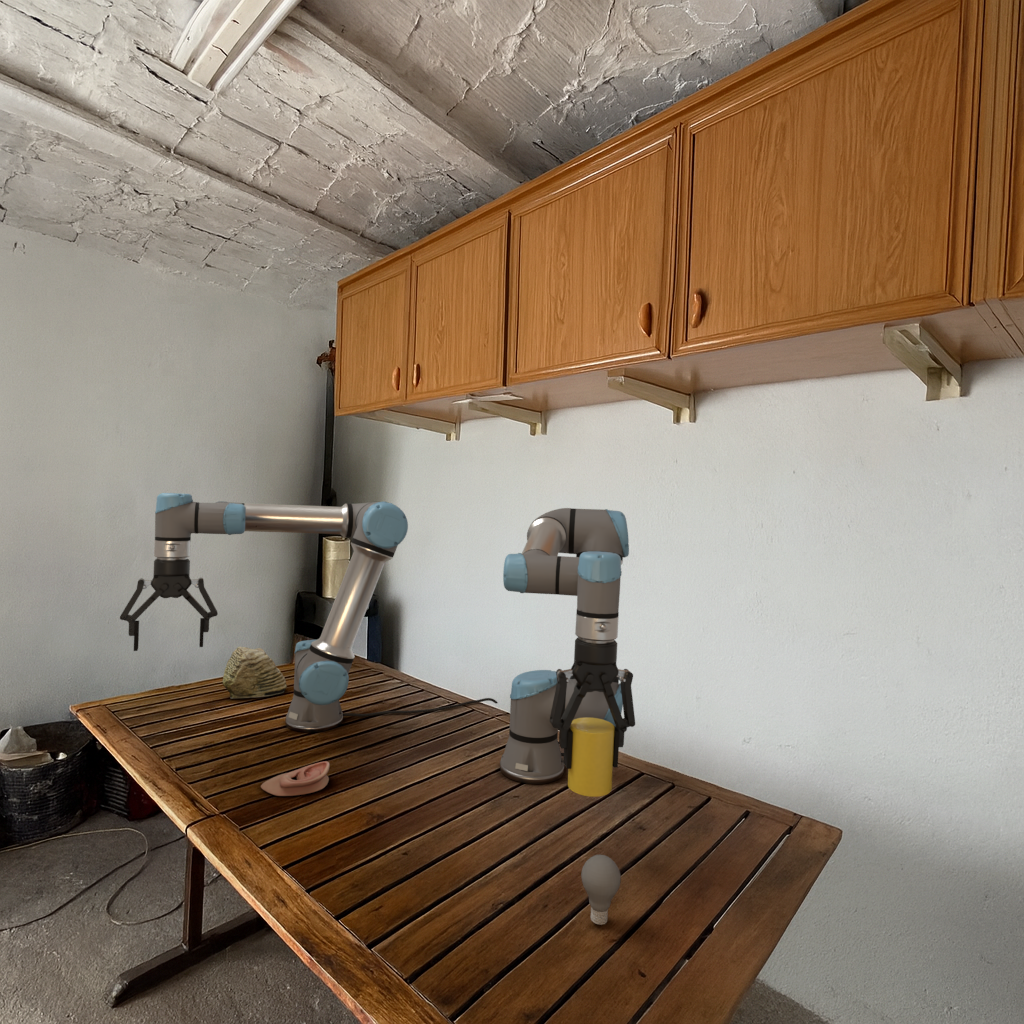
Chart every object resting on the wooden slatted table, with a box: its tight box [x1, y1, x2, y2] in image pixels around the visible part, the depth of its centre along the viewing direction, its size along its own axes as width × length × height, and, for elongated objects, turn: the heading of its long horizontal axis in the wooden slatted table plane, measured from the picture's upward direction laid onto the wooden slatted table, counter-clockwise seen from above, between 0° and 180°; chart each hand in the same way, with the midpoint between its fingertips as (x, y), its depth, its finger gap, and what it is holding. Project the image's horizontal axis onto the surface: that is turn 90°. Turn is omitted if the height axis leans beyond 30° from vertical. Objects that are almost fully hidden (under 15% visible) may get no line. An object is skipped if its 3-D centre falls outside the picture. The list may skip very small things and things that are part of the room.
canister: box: [567, 717, 615, 798], centre depth 113 cm, size 8×8×11 cm
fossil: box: [222, 646, 288, 699], centre depth 198 cm, size 9×18×15 cm, turn 132°
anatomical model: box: [260, 760, 331, 797], centre depth 138 cm, size 13×4×12 cm
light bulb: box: [580, 854, 622, 926], centre depth 97 cm, size 6×6×10 cm
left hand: (169, 647), depth 150 cm, fingers open, 13 cm apart
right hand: (590, 764), depth 113 cm, fingers closed on canister, 8 cm apart
